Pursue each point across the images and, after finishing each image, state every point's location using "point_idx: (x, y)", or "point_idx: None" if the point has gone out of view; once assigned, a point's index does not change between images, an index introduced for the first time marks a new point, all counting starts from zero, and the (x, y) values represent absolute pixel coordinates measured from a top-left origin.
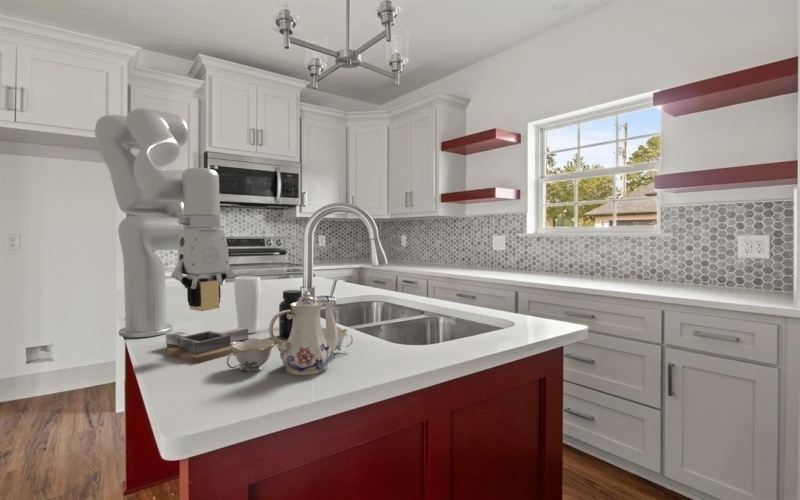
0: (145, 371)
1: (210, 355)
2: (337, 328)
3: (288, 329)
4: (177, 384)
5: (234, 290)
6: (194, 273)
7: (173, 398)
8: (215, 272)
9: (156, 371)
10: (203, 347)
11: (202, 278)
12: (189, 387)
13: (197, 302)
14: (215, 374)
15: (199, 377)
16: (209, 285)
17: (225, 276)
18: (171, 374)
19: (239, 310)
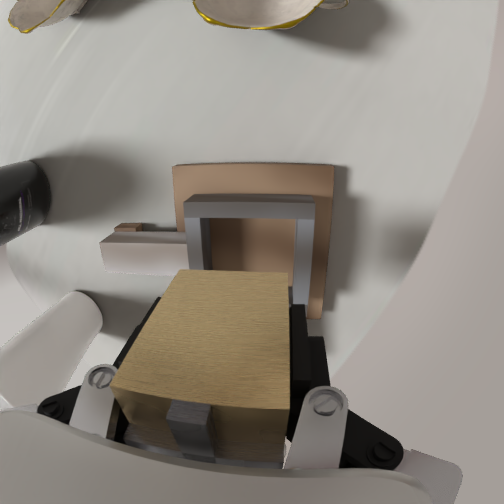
0: (429, 222)
1: (287, 164)
2: (13, 12)
3: (28, 178)
4: (440, 74)
5: None
6: (386, 476)
7: (469, 28)
8: (110, 446)
9: (419, 199)
10: (293, 198)
11: (222, 457)
12: (432, 37)
13: (302, 315)
14: (354, 45)
15: (390, 63)
16: (203, 373)
17: (48, 402)
18: (416, 145)
19: (73, 350)
